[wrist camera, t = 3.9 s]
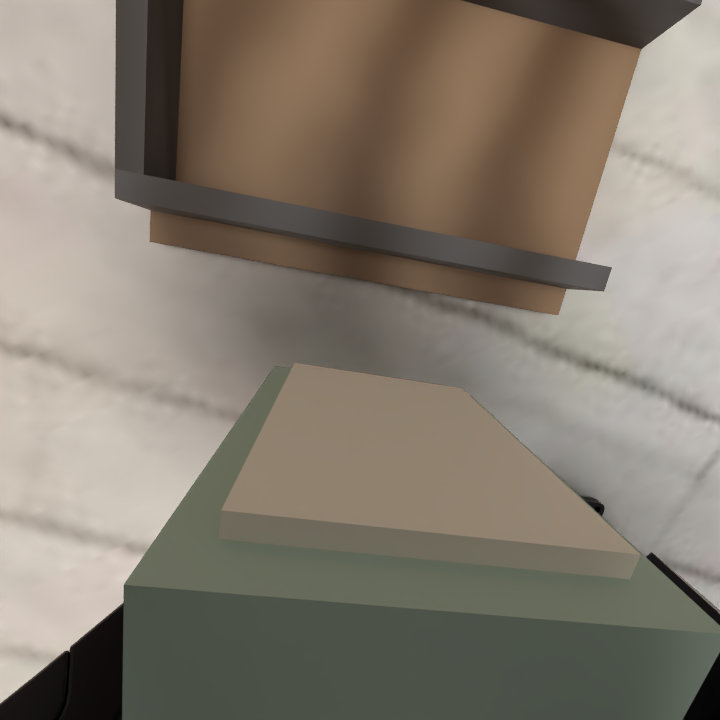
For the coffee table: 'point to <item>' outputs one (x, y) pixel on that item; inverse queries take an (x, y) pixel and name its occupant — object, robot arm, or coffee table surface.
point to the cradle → (381, 134)
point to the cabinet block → (397, 575)
